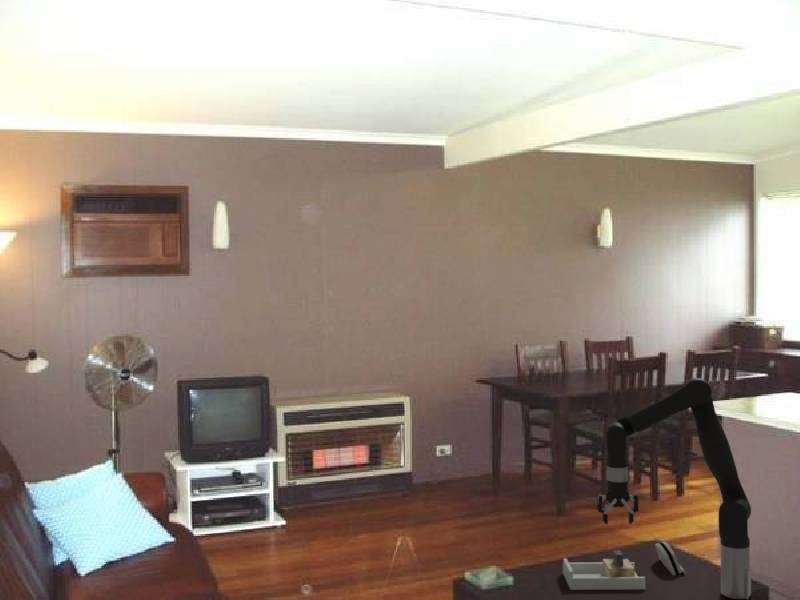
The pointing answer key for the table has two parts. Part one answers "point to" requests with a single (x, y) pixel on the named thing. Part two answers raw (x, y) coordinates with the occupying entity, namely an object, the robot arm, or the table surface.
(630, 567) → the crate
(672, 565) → the hinge
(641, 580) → the bay
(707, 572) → the table surface
